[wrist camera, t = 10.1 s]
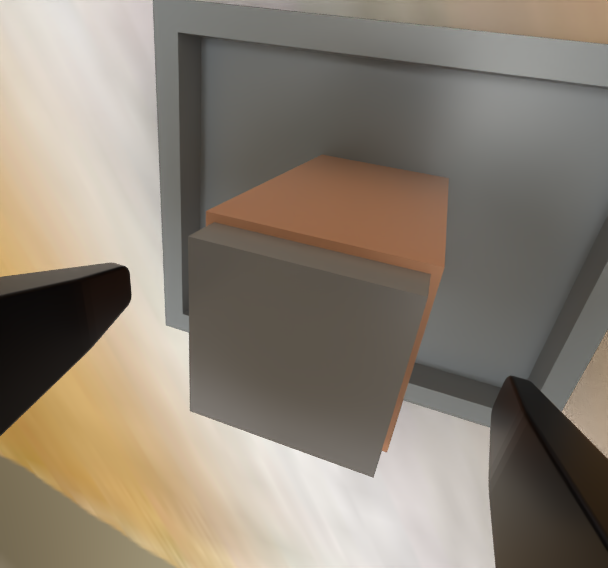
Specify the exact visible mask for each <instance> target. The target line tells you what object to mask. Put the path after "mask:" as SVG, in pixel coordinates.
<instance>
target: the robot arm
mask: <svg viewBox="0 0 608 568" xmlns="http://www.w3.org/2000/svg"><path fill="white" fill-rule="evenodd" d="M130 301H131V283H130V273H129V270H128V268H127V267H125V266H123V265H119V264H116V263H104V264H96V265H89V266H81V267H73V268H65V269H58V270H50V271H42V272H35V273H27V274H19V275H11V276H4V277H0V436H1V435H2V434H3V433H4V432H5V431H6V430H7V429H8V428H9V427H10V426H11V425H12V424H13V423H14V422H16V421H17V420H18V419H19V418H20V417H21V416H22V415H23V414H24V413H25V412H26V411H27V410H28V409H29V408H30V407H31V406H32V405H33V404H34V403H35V402H36V401H37V400H38V399H39V398H40V397H41V396H43V395H44V394H45V393H46V392H47V391H48V390H49V389H50V388H51V387H52V386H53V385H54V384H55V383H56V382H57V381H58V380H59V379H60V378H61V377H62V376H63V375H64V374H65V373H66V372H67V371H68V370H69V369H71V368H72V367H73V366H74V365H75V364H76V363H77V362H78V361H79V360H80V359H81V358H82V357H83V356H84V355H85V354H86V353H87V352H88V351H89V350H90V349H91V348H92V347H93V346H94V345H95V343H96V342H97V341H98V340H99V339H100V338H101V337H102V335H103V334H104V333H105V332H106V331H107V330H108V328H109V327H110V326H111V325H112V324H113V323H114V321H115V320H116V319H117V318H118V317H119V315H120V314H121V313H122V312H123V311H124V310H125V308H126V307H127V306H128V305H129V303H130ZM489 499H490V510H491V522H492V533H493V544H494V555H495V566H496V568H608V459H607V458H606V457H605V456H604V455H603V454H602V453H601V452H600V451H599V450H598V448H597V447H596V446H595V445H594V444H593V443H592V442H591V441H590V440H589V439H588V438H587V437H586V436H585V435H584V434H583V433H582V432H581V431H580V430H579V429H578V428H577V427H576V426H575V425H574V424H573V423H572V422H571V421H570V420H569V419H568V418H567V417H566V416H565V415H564V414H563V413H562V412H561V411H560V410H559V409H558V408H557V407H556V406H555V405H554V404H553V403H552V402H551V401H550V400H549V399H548V398H547V397H546V396H545V395H544V394H543V393H542V392H541V391H540V390H539V389H538V388H537V387H536V386H535V385H534V384H533V383H532V382H531V381H529V380H527V379H523V378H519V377H516V376H512V375H510V376H508V377H507V378H506V379H505V381H504V383H503V385H502V387H501V389H500V391H499V394H498V396H497V398H496V400H495V402H494V405H493V408H492V412H491V426H490V452H489Z"/></svg>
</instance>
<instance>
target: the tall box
mask: <svg viewBox="0 0 608 568" xmlns="http://www.w3.org/2000/svg"><path fill="white" fill-rule="evenodd" d="M448 185H449V178H446V177H440V176H435V175H429V174H424V173H419V172H413V171H408V170H402V169H397V168H392V167H386V166H381V165H376V164H370V163H365V162H359V161H354V160H349V159H343V158H338V157H332V156H327V155H320V156H318V157H316V158H314V159H312V160H310V161H308V162H306V163H304V164H302V165H300V166H298V167H295V168H293V169H291V170H289V171H287V172H285V173H283V174H281V175H279V176H277V177H275V178H273V179H271V180H269V181H267V182H265V183H263V184H261V185H259V186H256V187H254V188H252V189H250V190H248V191H246V192H244V193H242V194H240V195H238V196H236V197H234V198H232V199H230V200H228V201H226V202H224V203H222V204H220V205H217V206H215V207H213V208H211V209H209V210H207V211H206V227H204V228H202V229H200V230H199V231H197V232H195V233H193V234H191V235H190V236H188V276H189V370H190V411H191V412H194V413H197V414H200V415H202V416H205V417H208V418H211V419H213V420H216V421H219V422H222V423H224V424H227V425H230V426H233V427H235V428H238V429H241V430H244V431H246V432H249V433H252V434H255V435H257V436H260V437H263V438H266V439H268V440H271V441H274V442H277V443H279V444H282V445H285V446H288V447H291V448H293V449H296V450H299V451H302V452H304V453H307V454H310V455H313V456H315V457H318V458H321V459H324V460H326V461H329V462H332V463H335V464H337V465H340V466H343V467H346V468H348V469H351V470H354V471H357V472H359V473H362V474H365V475H368V476H370V477H373V478H374V474H375V471H376V468H377V464H378V461H379V458H380V454H381V451H384V452H387V450H388V447H389V444H390V441H391V437H392V434H393V431H394V428H395V425H396V421H397V418H398V415H399V412H400V409H401V405H402V402H403V399H404V396H405V392H406V389H407V386H408V383H409V380H410V376H411V373H412V370H413V367H414V364H415V360H416V357H417V354H418V351H419V348H420V344H421V341H422V338H423V335H424V332H425V328H426V325H427V322H428V319H429V316H430V312H431V309H432V306H433V303H434V299H435V296H436V293H437V290H438V287H439V283H440V280H441V277H442V274H443V271H444V267H445V248H446V227H447V206H448Z"/></svg>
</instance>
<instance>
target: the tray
mask: <svg viewBox="0 0 608 568" xmlns="http://www.w3.org/2000/svg"><path fill="white" fill-rule="evenodd" d="M153 19H154V44H155V69H156V93H157V118H158V143H159V168H160V193H161V218H162V243H163V268H164V293H165V317H166V325H167V326H170V327H173V328H176V329H179V330H182V331H186V332H189V276H188V236H190V235H191V234H193V233H195V232H197V231H199V230H200V229H202V228H204V227H206V211H207V210H209V209H211V208H213V207H215V206H217V205H220V204H222V203H224V202H226V201H228V200H230V199H232V198H234V197H236V196H238V195H240V194H242V193H244V192H246V191H248V190H250V189H252V188H254V187H256V186H259V185H261V184H263V183H265V182H267V181H269V180H271V179H273V178H275V177H277V176H279V175H281V174H283V173H285V172H287V171H289V170H291V169H293V168H295V167H298V166H300V165H302V164H304V163H306V162H308V161H310V160H312V159H314V158H316V157H318V156H320V155H327V156H332V157H338V158H343V159H349V160H354V161H359V162H365V163H370V164H376V165H381V166H386V167H392V168H397V169H402V170H408V171H413V172H419V173H424V174H429V175H435V176H440V177H446V178H449V185H448V206H447V227H446V248H445V267H444V271H443V274H442V277H441V280H440V283H439V287H438V290H437V293H436V296H435V299H434V303H433V306H432V309H431V312H430V316H429V319H428V322H427V325H426V328H425V332H424V335H423V338H422V341H421V344H420V348H419V351H418V354H417V357H416V360H415V364H414V367H413V370H412V373H411V376H410V380H409V383H408V386H407V389H406V392H405V396H404V399H403V400H404V401H408V402H411V403H414V404H417V405H420V406H423V407H427V408H430V409H433V410H436V411H439V412H442V413H446V414H449V415H452V416H455V417H458V418H461V419H465V420H468V421H471V422H474V423H477V424H480V425H484V426H487V427H490V426H491V412H492V408H493V405H494V402H495V400H496V398H497V396H498V394H499V391H500V389H501V387H502V385H503V383H504V381H505V379H506V378H507V377H508V376H510V375H512V376H516V377H519V378H523V379H527V380H529V381H531V382H532V383H533V384H534V385H535V386H536V387H537V388H538V389H539V390H540V391H541V392H542V393H543V394H544V395H545V396H546V397H547V398H548V399H549V400H550V401H551V402H552V403H553V404H554V405H555V406H556V407H557V408H558V409H559V410H560V411H562V410H563V408H564V406H565V404H566V403H567V401H568V399H569V397H570V395H571V394H572V392H573V390H574V388H575V387H576V385H577V383H578V381H579V380H580V378H581V376H582V374H583V372H584V371H585V369H586V367H587V365H588V364H589V362H590V360H591V358H592V356H593V355H594V353H595V351H596V349H597V348H598V346H599V344H600V342H601V341H602V339H603V337H604V335H605V333H606V332H607V330H608V44H599V43H589V42H580V41H570V40H561V39H551V38H542V37H533V36H523V35H514V34H504V33H495V32H485V31H476V30H467V29H457V28H448V27H438V26H429V25H419V24H410V23H401V22H391V21H382V20H372V19H363V18H353V17H344V16H335V15H325V14H316V13H306V12H297V11H287V10H278V9H269V8H259V7H250V6H240V5H231V4H221V3H212V2H203V1H193V0H153Z"/></svg>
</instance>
